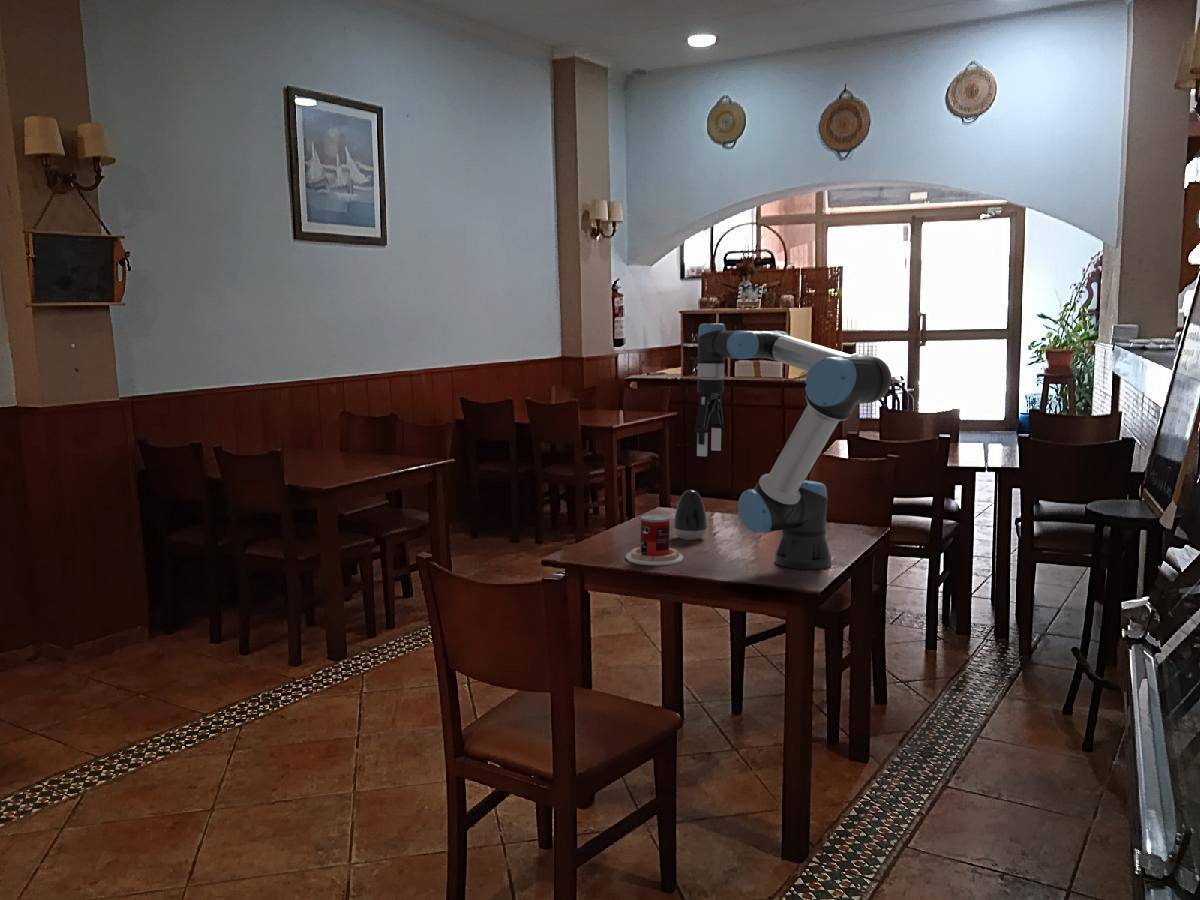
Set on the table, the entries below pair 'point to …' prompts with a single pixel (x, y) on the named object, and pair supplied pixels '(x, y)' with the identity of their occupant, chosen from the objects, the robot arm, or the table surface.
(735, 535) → the table surface
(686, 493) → the dark grey rounded dome
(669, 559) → the dish
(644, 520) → the canned food
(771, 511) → the robot arm
